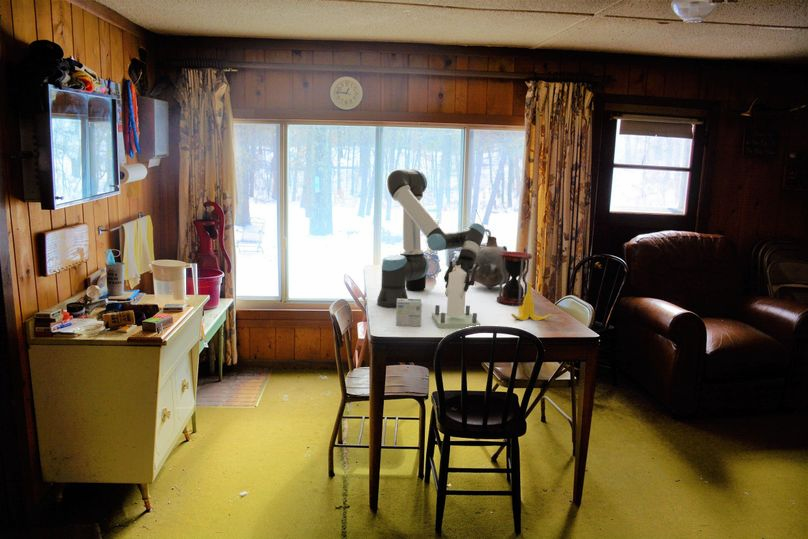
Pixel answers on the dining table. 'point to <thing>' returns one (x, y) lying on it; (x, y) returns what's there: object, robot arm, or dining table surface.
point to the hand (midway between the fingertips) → (453, 295)
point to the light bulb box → (408, 312)
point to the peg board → (454, 319)
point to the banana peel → (528, 307)
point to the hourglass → (513, 278)
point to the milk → (456, 293)
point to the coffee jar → (416, 284)
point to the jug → (490, 264)
